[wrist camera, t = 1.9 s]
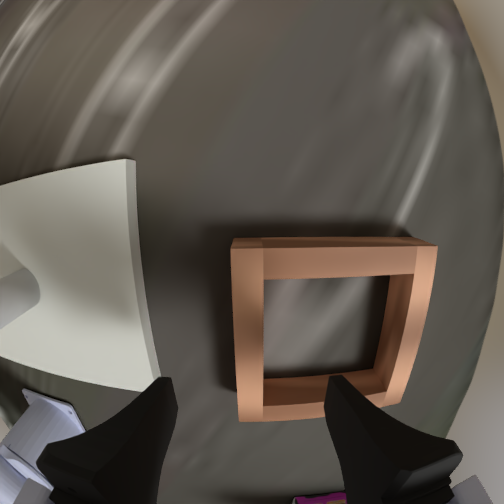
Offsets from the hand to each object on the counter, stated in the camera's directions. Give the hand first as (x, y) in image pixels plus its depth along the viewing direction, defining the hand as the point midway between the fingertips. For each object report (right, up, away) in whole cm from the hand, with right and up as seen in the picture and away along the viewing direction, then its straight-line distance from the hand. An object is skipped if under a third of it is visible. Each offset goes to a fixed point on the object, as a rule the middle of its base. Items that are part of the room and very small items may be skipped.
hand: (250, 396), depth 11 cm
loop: (+5, +2, +7) cm, 9 cm away
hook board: (-17, +4, +6) cm, 18 cm away
